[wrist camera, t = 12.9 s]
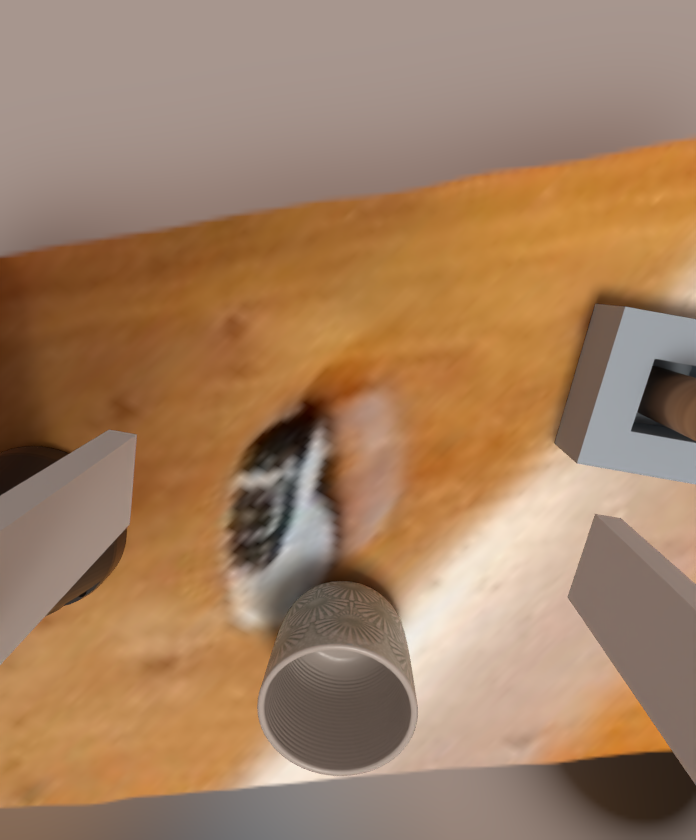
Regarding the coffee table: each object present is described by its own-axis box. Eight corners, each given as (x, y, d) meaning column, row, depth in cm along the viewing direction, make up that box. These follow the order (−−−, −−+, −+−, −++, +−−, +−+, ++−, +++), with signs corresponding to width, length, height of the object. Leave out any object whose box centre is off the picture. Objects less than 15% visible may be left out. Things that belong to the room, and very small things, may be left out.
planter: (341, 541, 48) (333, 614, 37) (434, 623, 50) (451, 715, 39) (254, 622, 51) (224, 712, 40) (345, 697, 53) (340, 802, 42)
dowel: (617, 408, 43) (710, 457, 32) (632, 361, 42) (735, 394, 30) (663, 417, 43) (774, 468, 32) (680, 370, 42) (801, 406, 31)
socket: (554, 443, 45) (576, 463, 40) (595, 303, 42) (625, 306, 37) (690, 467, 45) (729, 490, 40) (741, 329, 42) (790, 336, 37)
